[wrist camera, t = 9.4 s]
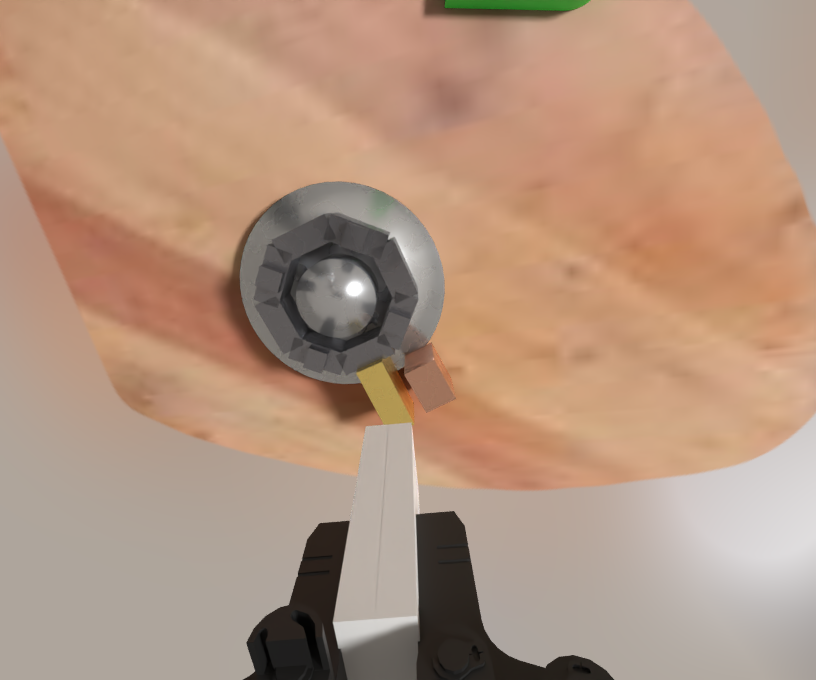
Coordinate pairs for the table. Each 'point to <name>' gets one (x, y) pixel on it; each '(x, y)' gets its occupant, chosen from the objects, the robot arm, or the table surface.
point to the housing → (354, 282)
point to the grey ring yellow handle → (334, 353)
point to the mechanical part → (517, 4)
